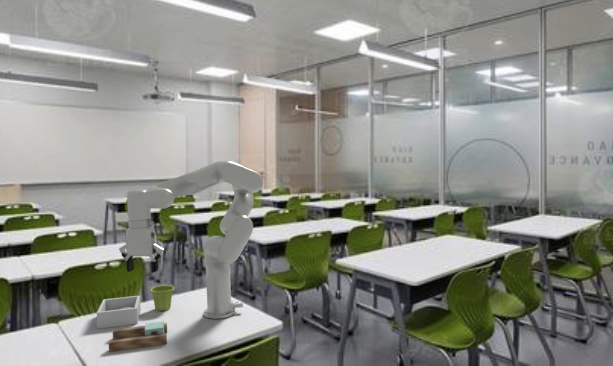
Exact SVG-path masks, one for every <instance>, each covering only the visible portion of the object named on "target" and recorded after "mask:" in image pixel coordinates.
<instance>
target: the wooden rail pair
mask: <svg viewBox="0 0 613 366" xmlns="http://www.w3.org/2000/svg"><path fill="white" fill-rule="evenodd" d="M145 326H146V325H141V326H140V325H139V326H132V327H124V328H116V329H113V330H112V340H109V341H108V353H111V352H119V351H125V350H127V351H128V350H132V349H133V350H134V349H135V350H136V349H139V348H147V347H154V346H162V345H167V344H168V337H167V335H168V322H164V334H157V331H154V332H151V335H148V336H145Z"/></svg>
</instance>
